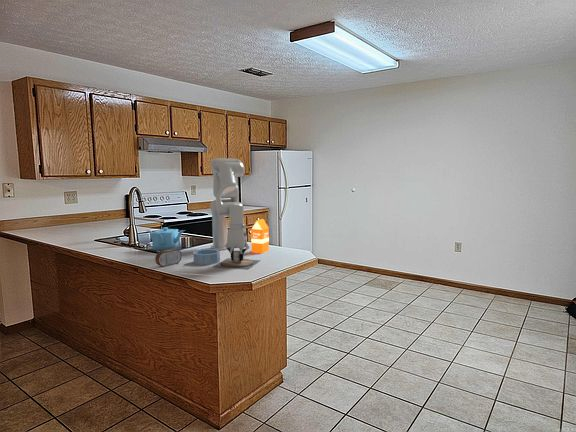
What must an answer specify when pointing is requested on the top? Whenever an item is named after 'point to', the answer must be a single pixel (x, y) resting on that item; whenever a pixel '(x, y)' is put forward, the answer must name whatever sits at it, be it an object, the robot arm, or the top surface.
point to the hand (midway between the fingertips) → (237, 260)
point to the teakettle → (165, 238)
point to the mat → (239, 267)
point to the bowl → (206, 256)
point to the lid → (236, 261)
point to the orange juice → (260, 237)
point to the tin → (168, 257)
